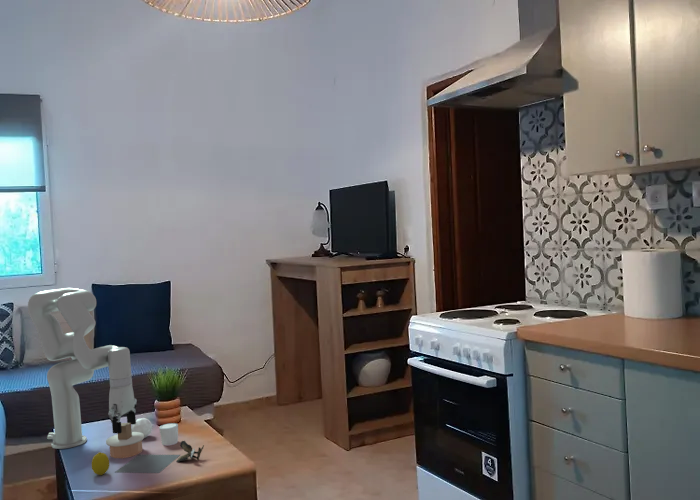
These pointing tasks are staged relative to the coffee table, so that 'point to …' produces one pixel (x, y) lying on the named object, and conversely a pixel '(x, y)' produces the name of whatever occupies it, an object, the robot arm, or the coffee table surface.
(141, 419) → the geometric ball
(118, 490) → the coffee table surface
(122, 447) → the bowl
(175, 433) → the shot glass
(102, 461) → the lemon
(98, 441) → the coffee table surface
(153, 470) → the mat
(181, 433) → the coffee table surface
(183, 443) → the eagle figurine
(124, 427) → the lid
